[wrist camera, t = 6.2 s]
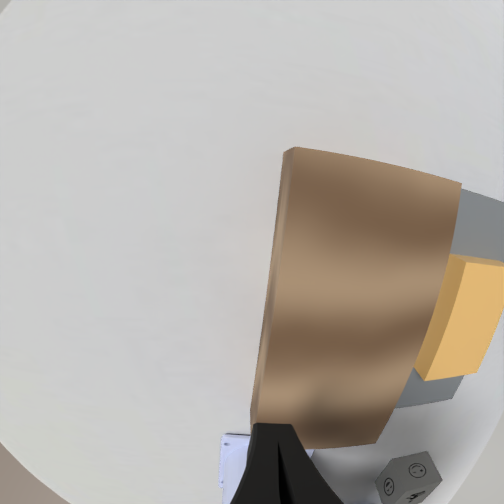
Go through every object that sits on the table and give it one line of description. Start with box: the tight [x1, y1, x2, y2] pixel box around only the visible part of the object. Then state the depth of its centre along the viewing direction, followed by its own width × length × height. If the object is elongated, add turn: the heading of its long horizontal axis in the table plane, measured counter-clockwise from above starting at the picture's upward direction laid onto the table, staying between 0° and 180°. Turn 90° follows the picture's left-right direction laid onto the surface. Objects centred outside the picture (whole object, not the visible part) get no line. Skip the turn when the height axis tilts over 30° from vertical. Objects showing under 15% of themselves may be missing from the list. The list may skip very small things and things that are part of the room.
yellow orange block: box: [413, 254, 504, 381], centre depth 17 cm, size 9×6×2 cm, turn 174°
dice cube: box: [375, 451, 442, 504], centre depth 22 cm, size 5×5×5 cm
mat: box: [394, 189, 504, 409], centre depth 19 cm, size 18×11×1 cm, turn 174°
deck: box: [250, 147, 462, 450], centre depth 16 cm, size 18×9×4 cm, turn 174°
